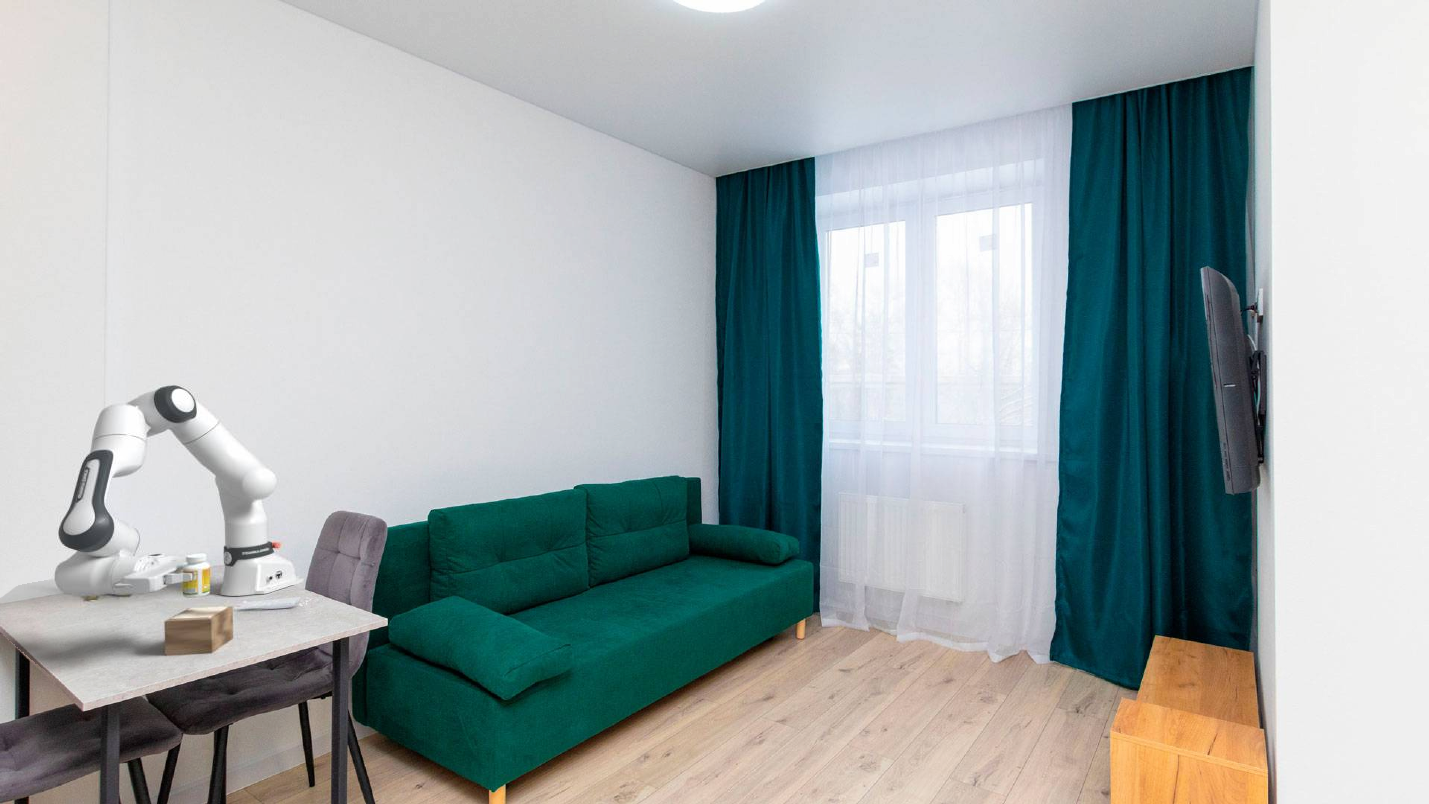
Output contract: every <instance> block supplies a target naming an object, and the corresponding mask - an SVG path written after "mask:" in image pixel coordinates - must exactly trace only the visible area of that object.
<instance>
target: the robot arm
mask: <svg viewBox="0 0 1429 804" xmlns="http://www.w3.org/2000/svg"><path fill="white" fill-rule="evenodd" d="M167 430H169V431H171V432H172V434H173V435H174V436H175V438H176V439H177V440H178V441H179V442H180V443H181V444H182V446H183V447H185V448H186V450H187V451H188V452H189V453H190V454H191V455H192V456H193V457H194V458H195V459H196V460H197V461H198V462H199V464H200V465H201V466H203V467H204V468H205V469H206V470H208V471H210V472H211V473H212V474H213V475H214V476H215V478H214V482H215V485H216V487H217V490H218V495H219V500H220V505H221V506H220V507H221V509H222V514H223V520H224V546H223V564H224V572H223V579H222V584H221V587H220V591H219V594H220V595H222V596H227V597H232V596H233V597H236V596H237V597H238V596H239V597H241V596H250V595H266V594H269V593H272V592H276V591H279V590H282V589H284V588H287V587H291V586H293V585H297V584H300V583H302V582H304V581H305V579H304V577H303V576H301V575H299V574H296V569H295V565H294V563H293V562H292V561H291V560H289V559H288V558H285V557H284V556H282V555H280V554H278V553H276V552H275V550H276V549H277V550H279V549H281V547H282V543H281V542H280V541H274V542H272V541H269V532H268V531H269V529H268V523H269V522H268V521H269V519H268V515H267V513H266V510H265V508H264V504H263V501H262V500H263V499H266V498H268V497H270V496H271V495H272V494H273V493H274V492H275V490H276V488H277V484H278V480H277V476H276V475H275V473H274V472H273V471H272V470H270V469H269V468H268V467H267V466H266V465H265V464H264V463H263V462H262V461H261V460H260V459H258V457H257V456H255V455H254V454H253V453H252V452H251V451H250V450H249V449H247V448H246V447H245V446H244V445H242V444H241V443H240V442H239V441H238V440H237V439H236V438H235V437H234V436H233V434H231V432H230V431H229V430H228V429H227V428H226V427H225V425H224V424H223V423H222V422H221V421H220V420H219V419H218V418H217V417H216V415H214V414H213V413H212V412H211V411H210V410H209V409H207V407H205V406H204V405H203V404H201V403H200V402H199V401H197V400H196V399H195V397H194V396H193V394H192V393H191V392H189V391H188V390H187V389H185V388H184V387H181V386H180V385H166V386H162V387H160V388H157V389H155V390H151V391H148V392H146V393H144V394H140V395H139V396H137V397H136V398H134V399H132V400H129V401H128V402H127V403H118V404H115V403H114V404H111V405H109V406H106V407H105V408H103V409H102V410H101V412H100V413H99V415H98V417H97V420H96V423H95V425H94V430H93V434H92V437H91V446H90V451H89V453H88V454H87V456H85V458H84V460H83V461H82V463H81V466H80V470H79V473H78V477H77V480H76V484H75V487H74V492H73V496H72V499H71V501H70V505H69V509H68V510H67V512H66V513H65V515H64V517H63V519H62V520H61V522H60V525H59V527H58V538H59V541H60V543H61V544H62V545H63V546H65V547H66V548H68V549H71V550H74V551H75V553H74V554H72V555H71V556H70V557H69V558H67V559H66V560H63V561H62V562H60V563H59V564H57V566H56V568H55V571H54V582H55V585H56V586H57V588H58V589H59V590H60V591H62V592H63V594H66V595H70V596H71V595H72V596H80V597H81V596H84V597H85V596H86V597H87V596H88V597H89V596H97V595H98V596H104V595H107V594H112V595H116V596H117V595H118V596H119V595H125V594H132V595H142V594H143V595H144V594H151V593H155V592H157V591H159V590H162V589H165V588H166V587H168V586H171V585H172V584H178V583H183V582H185V581H191V580H193V579H194V573H193V572H186V573H183V567H184V566H185V565H186V564H188V563H187V562H186V556H187V555H167V556H166V554H165V553H154V554H150V555H136V556H135V554H136V553H137V550H138V548H139V545H140V542H141V537H140V533H139V531H138V529H136V528H134V527H133V526H132V525H130V524H128V523H127V522H125V521H123V520H121V519H119V518H118V517H116V516H114V515H113V514H112V513H111V512H110V511H109V509H108V506H107V500H108V495H109V491H110V487H111V483H112V480H113V478H114V479H115V478H122V477H127V476H129V475H132V474H134V473H136V472H137V471H139V470H140V469H141V468H142V467H143V466H144V462H145V461H146V460H145V459H146V457H147V456H146V455H147V444H148V442H147V441H148V437H149V438H150V437H153V436H156V435H159V434H162V433H164V432H166V431H167ZM274 549H275V550H274Z"/></svg>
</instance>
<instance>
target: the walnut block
mask: <svg viewBox="0 0 1429 804" xmlns="http://www.w3.org/2000/svg"><path fill="white" fill-rule="evenodd" d="M233 613H234V611H233V606H230V605H229V606H208V607H207V606H205V607H204V606H201V607H188V608H186V609H185V610H183V611H181V612H179V613H177V614H176V615H174V616H172V617H170V618H168V619H167V620H165V621H163V623H164V655H165V656H181V655H195V654H196V655H199V654H201V655H202V654H203V655H204V654H212V653H214V652H216V651H217V650H218V649H220V648H222V647H223V646H224V645H226V644H227V643H229V642H230V641H231V640H233V639H234V618H233V617H234V614H233Z"/></svg>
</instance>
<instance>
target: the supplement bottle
mask: <svg viewBox="0 0 1429 804" xmlns="http://www.w3.org/2000/svg"><path fill="white" fill-rule="evenodd" d="M185 556H186V562H187V563H188V564H186V565H185V566H184V567H183V573H186V572H193V573H194V579H193V580H191V581H185V582H182V597H183V598H187V599H193V598H194V599H195V598H200V597H201V598H202V597H204V596H208V595H209V594H210V592H211V570H210V569H211V566H210V563H209V562H206V561H207V559H208V557H207V556H208V555H207V553H192V554H188V555H185Z"/></svg>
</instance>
